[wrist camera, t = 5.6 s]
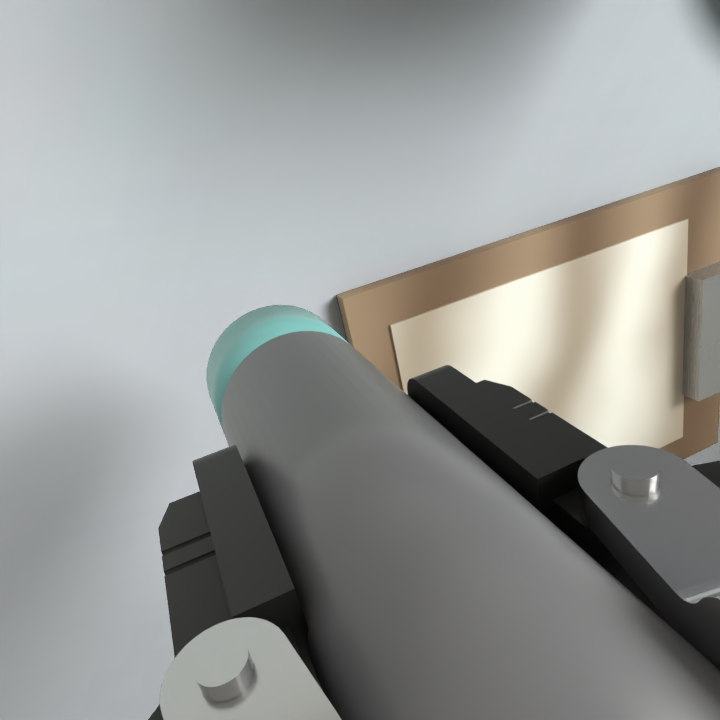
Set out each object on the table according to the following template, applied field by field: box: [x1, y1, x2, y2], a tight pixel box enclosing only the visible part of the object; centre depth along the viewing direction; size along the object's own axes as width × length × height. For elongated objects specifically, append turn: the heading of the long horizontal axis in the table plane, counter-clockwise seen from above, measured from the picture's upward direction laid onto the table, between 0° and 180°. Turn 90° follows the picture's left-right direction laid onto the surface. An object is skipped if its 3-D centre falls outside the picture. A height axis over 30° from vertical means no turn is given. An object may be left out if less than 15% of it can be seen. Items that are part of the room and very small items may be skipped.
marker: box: [207, 305, 720, 720], centre depth 8 cm, size 3×3×13 cm
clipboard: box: [337, 167, 720, 459], centre depth 26 cm, size 18×14×2 cm
